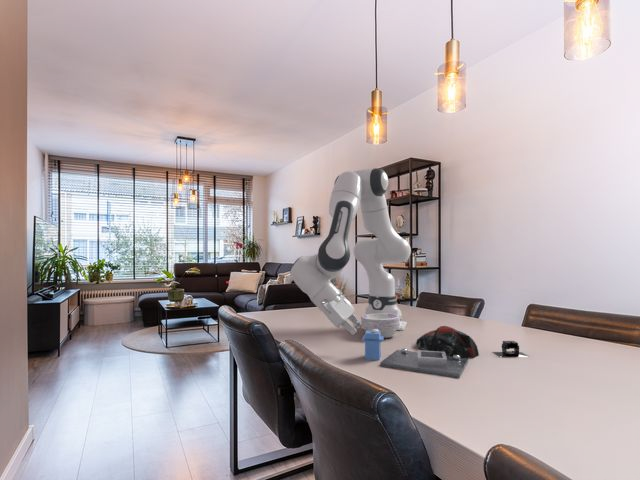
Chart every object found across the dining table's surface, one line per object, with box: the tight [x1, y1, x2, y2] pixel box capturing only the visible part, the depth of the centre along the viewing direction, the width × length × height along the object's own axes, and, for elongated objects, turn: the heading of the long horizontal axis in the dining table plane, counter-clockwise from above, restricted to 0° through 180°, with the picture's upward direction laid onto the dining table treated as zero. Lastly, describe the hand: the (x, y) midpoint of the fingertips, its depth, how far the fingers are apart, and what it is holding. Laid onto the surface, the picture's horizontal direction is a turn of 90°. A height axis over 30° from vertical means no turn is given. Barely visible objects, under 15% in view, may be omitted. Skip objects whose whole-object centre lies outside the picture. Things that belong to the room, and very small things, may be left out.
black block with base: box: [491, 340, 530, 358], centre depth 121 cm, size 12×7×5 cm, turn 87°
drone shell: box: [415, 325, 480, 359], centre depth 128 cm, size 21×20×8 cm
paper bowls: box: [360, 313, 400, 339], centre depth 149 cm, size 15×15×8 cm
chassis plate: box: [379, 347, 470, 378], centre depth 111 cm, size 16×22×3 cm
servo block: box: [361, 329, 385, 361], centre depth 118 cm, size 4×6×9 cm
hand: (357, 329), depth 120 cm, fingers open, 8 cm apart
